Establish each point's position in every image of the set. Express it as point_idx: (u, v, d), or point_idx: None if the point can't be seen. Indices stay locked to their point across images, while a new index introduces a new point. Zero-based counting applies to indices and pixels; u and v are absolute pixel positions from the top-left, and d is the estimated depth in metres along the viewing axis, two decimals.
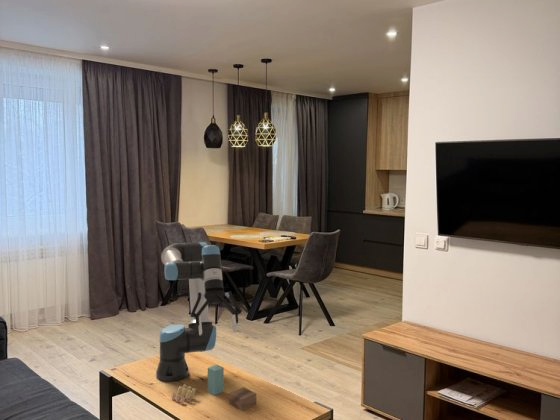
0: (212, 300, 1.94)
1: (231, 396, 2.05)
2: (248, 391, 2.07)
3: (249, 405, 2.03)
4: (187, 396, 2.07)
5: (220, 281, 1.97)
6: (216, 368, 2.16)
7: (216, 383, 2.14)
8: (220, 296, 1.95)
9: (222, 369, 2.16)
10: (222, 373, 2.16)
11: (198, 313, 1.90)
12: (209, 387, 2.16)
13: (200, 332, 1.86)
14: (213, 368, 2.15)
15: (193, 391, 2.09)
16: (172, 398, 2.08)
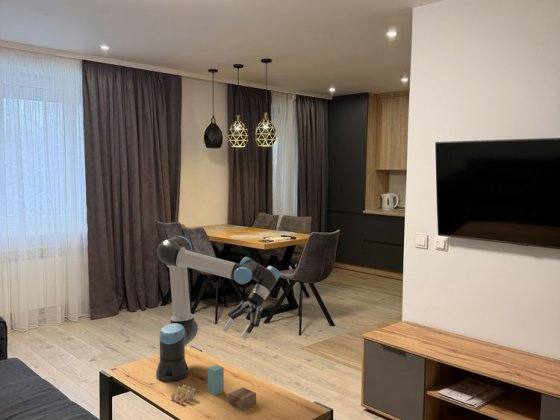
0: None
1: (231, 396, 2.04)
2: (248, 391, 2.07)
3: (249, 405, 2.03)
4: (186, 396, 2.07)
5: None
6: (216, 368, 2.16)
7: (216, 383, 2.14)
8: None
9: (222, 369, 2.16)
10: (222, 373, 2.16)
11: None
12: (209, 387, 2.16)
13: None
14: (213, 368, 2.15)
15: (192, 391, 2.09)
16: (171, 398, 2.08)
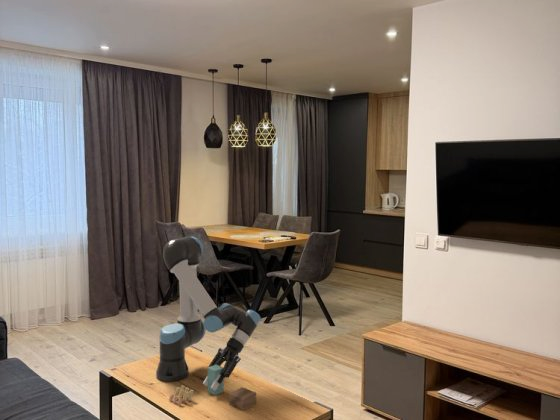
0: None
1: (231, 396, 2.04)
2: (248, 391, 2.07)
3: (250, 405, 2.04)
4: (184, 397, 2.06)
5: None
6: (216, 367, 2.16)
7: None
8: None
9: (222, 369, 2.16)
10: None
11: None
12: (209, 387, 2.16)
13: None
14: (213, 368, 2.15)
15: (191, 392, 2.08)
16: (170, 399, 2.07)
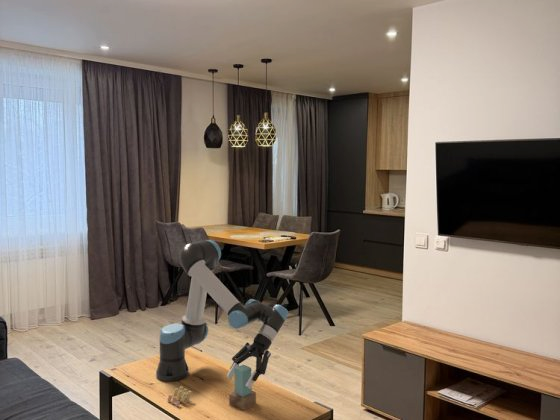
0: None
1: (231, 397, 2.04)
2: None
3: (250, 404, 2.04)
4: (183, 398, 2.05)
5: None
6: (243, 368, 2.04)
7: (244, 384, 2.02)
8: None
9: (250, 369, 2.04)
10: (250, 374, 2.04)
11: None
12: (236, 388, 2.04)
13: None
14: (240, 369, 2.03)
15: (189, 393, 2.07)
16: (168, 400, 2.06)
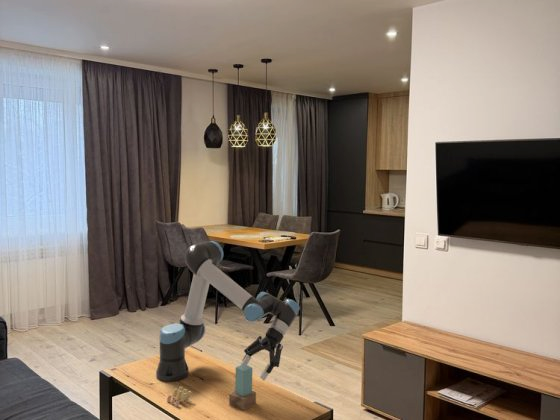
0: None
1: (231, 397, 2.04)
2: None
3: (250, 404, 2.04)
4: (182, 398, 2.05)
5: None
6: (245, 367, 2.05)
7: (245, 383, 2.03)
8: None
9: (251, 369, 2.04)
10: (251, 373, 2.05)
11: None
12: (237, 388, 2.05)
13: (264, 380, 2.04)
14: (241, 368, 2.04)
15: (188, 394, 2.07)
16: (167, 400, 2.06)
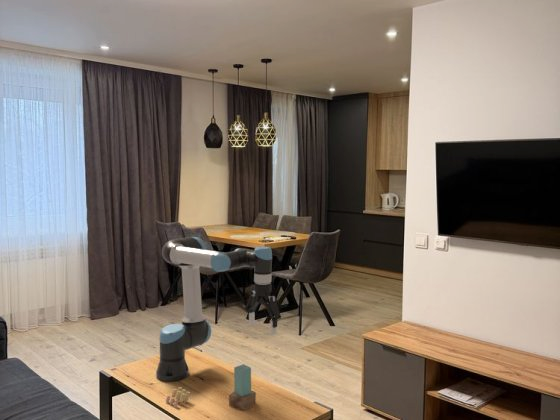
0: None
1: (231, 397, 2.03)
2: None
3: (250, 404, 2.04)
4: (181, 399, 2.04)
5: None
6: (243, 367, 2.04)
7: (243, 383, 2.03)
8: None
9: (249, 369, 2.04)
10: (249, 373, 2.04)
11: None
12: (236, 388, 2.05)
13: None
14: (239, 368, 2.04)
15: (187, 394, 2.06)
16: (166, 401, 2.06)
